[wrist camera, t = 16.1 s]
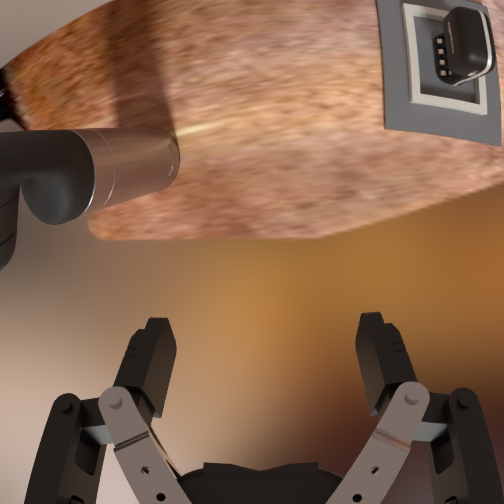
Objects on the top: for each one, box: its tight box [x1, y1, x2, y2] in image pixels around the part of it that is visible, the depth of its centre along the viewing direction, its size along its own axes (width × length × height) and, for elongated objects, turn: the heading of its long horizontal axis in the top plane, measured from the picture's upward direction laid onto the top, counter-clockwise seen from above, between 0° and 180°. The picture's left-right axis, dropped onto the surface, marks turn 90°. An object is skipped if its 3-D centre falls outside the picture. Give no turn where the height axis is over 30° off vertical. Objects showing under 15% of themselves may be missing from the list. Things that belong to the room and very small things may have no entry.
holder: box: [376, 0, 501, 147], centre depth 27 cm, size 16×20×3 cm
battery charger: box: [434, 6, 496, 86], centre depth 22 cm, size 7×4×11 cm, turn 2°
